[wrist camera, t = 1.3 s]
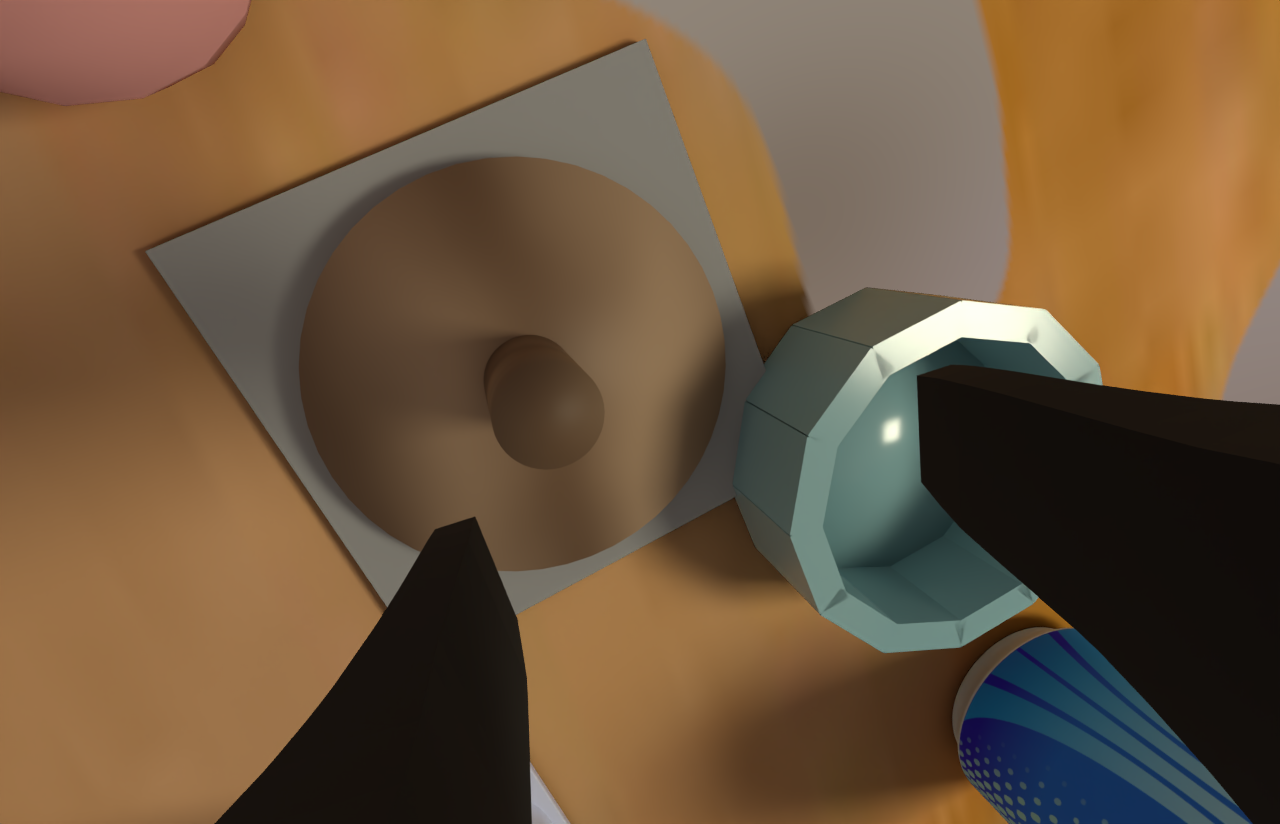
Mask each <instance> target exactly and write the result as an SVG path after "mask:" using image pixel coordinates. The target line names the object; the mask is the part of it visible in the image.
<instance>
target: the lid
mask: <svg viewBox="0 0 1280 824" xmlns="http://www.w3.org/2000/svg"><path fill="white" fill-rule="evenodd" d="M725 369H726V360H725V340H724V334H723V328H722V322H721V317H720V313H719V310H718V306H717V303H716V300H715V297H714V293H713V290H712V288H711V286H710V284H709V282H708V279H707V277H706V275H705V273H704V271H703V268H702V266H701V265H700V263H699V262H698V260H697V258H696V257H695V255H694V254H693V252H692V250H691V249H690V247H689V245H688V244H687V243H686V242H685V240H684V239H683V238H682V237H681V235H680V234H679V233H678V232H677V231H676V229H675V228H674V227H673V226H672V225H671V223H670V222H669V221H667V220H666V219H665V218H664V217H663V216H662V215H661V214H660V213H659V212H658V211H657V210H656V209H655V208H654V207H652V206H651V205H650V204H649V203H647V202H646V201H645V200H643V199H642V198H640V197H639V196H638V195H636V194H635V193H633V192H632V191H631V190H629V189H628V188H626V187H624V186H622V185H620V184H618V183H616V182H615V181H613V180H611V179H609V178H607V177H605V176H603V175H601V174H598V173H595V172H593V171H590V170H587V169H584V168H582V167H579V166H576V165H572V164H568V163H563V162H559V161H554V160H549V159H543V158H530V157H517V156H515V157H498V158H484V159H479V160H474V161H469V162H465V163H460V164H455V165H452V166H449V167H447V168H444V169H441V170H438V171H435V172H432V173H429V174H427V175H425V176H423V177H421V178H419V179H417V180H415V181H413V182H411V183H409V184H407V185H406V186H404V187H402V188H400V189H398V190H397V191H395V192H394V193H393V194H391V195H390V196H388V197H387V198H386V199H384V200H383V201H381V202H380V203H379V204H377V205H376V206H375V207H373V208H372V209H371V210H370V211H369V212H368V213H367V214H366V215H365V216H364V217H363V218H362V219H361V220H360V221H359V222H358V223H357V224H356V225H355V226H354V227H353V228H352V229H351V230H350V231H349V232H348V234H347V235H346V236H345V238H344V239H343V240H342V242H341V243H340V244H339V245H338V247H337V248H336V249H335V251H334V252H333V253H332V255H331V257H330V259H329V260H328V262H327V264H326V266H325V268H324V269H323V271H322V273H321V275H320V277H319V278H318V280H317V283H316V285H315V288H314V291H313V293H312V296H311V299H310V301H309V304H308V307H307V310H306V315H305V319H304V324H303V329H302V333H301V338H300V353H299V379H300V391H301V399H302V403H303V408H304V412H305V416H306V421H307V425H308V428H309V430H310V433H311V435H312V438H313V441H314V443H315V446H316V448H317V451H318V453H319V455H320V457H321V458H322V460H323V462H324V464H325V465H326V467H327V469H328V471H329V473H330V474H331V476H332V478H333V479H334V480H335V482H336V483H337V484H338V486H339V487H340V488H341V489H342V491H343V492H344V493H345V495H346V496H347V497H348V499H349V500H350V501H351V502H352V503H353V504H354V505H355V506H356V507H357V508H358V509H359V510H360V511H361V512H362V513H363V514H364V515H365V516H366V517H367V518H368V519H369V520H371V521H372V522H373V523H375V524H376V525H377V526H379V527H380V528H381V529H383V530H384V531H385V532H386V533H388V534H389V535H390V536H392V537H394V538H396V539H397V540H399V541H401V542H402V543H404V544H406V545H408V546H409V547H411V548H413V549H415V550H417V551H420V552H421V551H422V549H423V547H424V546H425V544H426V542H427V541H428V539H429V537H430V536H431V534H432V533H433V531H434V530H435V529H437V528H440V527H443V526H446V525H450V524H453V523H456V522H459V521H462V520H465V519H468V518H472V517H476V520H477V522H478V524H479V527H480V529H481V532H482V534H483V537H484V539H485V541H486V544H487V546H488V549H489V551H490V554H491V556H492V558H493V561H494V563H495V566H496V568H497V571H528V570H539V569H546V568H551V567H556V566H560V565H565V564H569V563H572V562H575V561H578V560H581V559H584V558H587V557H590V556H593V555H595V554H597V553H599V552H601V551H603V550H606V549H608V548H610V547H612V546H614V545H616V544H617V543H619V542H621V541H622V540H624V539H626V538H627V537H629V536H631V535H632V534H634V533H635V532H637V531H638V530H639V529H641V528H642V527H643V526H644V525H646V524H647V523H648V522H649V521H651V520H652V519H653V518H655V517H656V516H657V515H658V514H659V513H660V512H661V511H662V510H663V509H664V508H665V507H666V506H667V505H668V504H669V503H670V502H671V501H672V500H673V499H674V497H675V496H676V495H677V494H678V492H679V491H680V490H681V489H682V487H683V486H684V485H685V484H686V482H687V481H688V480H689V478H690V476H691V475H692V473H693V472H694V470H695V468H696V467H697V465H698V464H699V462H700V460H701V458H702V456H703V454H704V452H705V450H706V448H707V446H708V444H709V441H710V439H711V437H712V434H713V431H714V428H715V425H716V422H717V419H718V416H719V412H720V407H721V402H722V397H723V392H724V382H725Z"/></svg>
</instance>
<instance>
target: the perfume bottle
mask: <svg viewBox="0 0 1280 824" xmlns="http://www.w3.org/2000/svg"><path fill="white" fill-rule="evenodd" d="M250 3H251V0H0V92H4V93H8V94H13V95H18V96H22V97H27V98H31V99H36V100H40V101H45V102H50V103H54V104H59V105H63V106H69V105H79V104H89V103H99V102H109V101H119V100H130V99H140V98H144V97H146V96H149V95H151V94H153V93H156V92H158V91H160V90H163V89H165V88H168V87H170V86H172V85H174V84H175V83H177V82H179V81H181V80H183V79H185V78H187V77H189V76H191V75H193V74H195V73H197V72H199V71H201V70H203V69H205V68H207V67H209V66H210V65H212V64H214V63H215V62H216V61H217V59H218V58H219V57H220V55H221V54H222V53H223V52H224V50H225V49H226V48H227V47H228V45H229V44H230V43H231V42H232V40H233V39H234V38H235V37H236V35H237V34H238V33H239V32H240V30H241V29H242V28H243V27H244V25H245V22H246V19H247V15H248V11H249V7H250Z"/></svg>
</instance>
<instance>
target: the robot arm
mask: <svg viewBox="0 0 1280 824" xmlns="http://www.w3.org/2000/svg"><path fill="white" fill-rule="evenodd" d="M917 397H918V422H919V447H920V471H921V483H922V484H923V485H924V486H925V488H926V489H927V490H928V491H929V492H930V494H931V495H932V496H933V497H934V499H935V500H936V501H937V502H938V503H939V505H940V506H941V507H942V508H943V509H944V510H945V512H946V513H947V514H948V515H949V516H950V517H951V518H952V519H953V520H954V522H955V523H956V524H957V525H958V526H959V527H960V528H961V529H962V530H963V531H964V532H965V533H966V534H967V535H968V536H970V537H971V538H972V539H973V540H974V541H975V542H976V543H977V544H978V545H980V546H981V547H982V548H983V549H984V550H985V551H986V552H987V553H989V554H990V555H991V556H992V557H993V558H994V559H995V560H996V561H998V562H999V563H1000V564H1001V565H1002V566H1003V567H1004V568H1006V569H1007V570H1008V571H1009V572H1010V573H1011V574H1013V575H1014V576H1015V577H1016V578H1017V579H1018V580H1019V581H1021V582H1022V583H1023V584H1024V585H1025V586H1026V587H1027V588H1029V589H1030V590H1031V591H1032V592H1033V593H1034V594H1036V595H1037V596H1038V597H1039V598H1040V599H1041V600H1042V601H1044V602H1045V603H1046V604H1047V605H1048V606H1049V607H1050V608H1052V609H1053V610H1054V611H1055V612H1056V613H1057V614H1059V615H1060V616H1061V617H1062V618H1063V619H1064V620H1065V621H1067V622H1068V623H1069V624H1070V625H1071V626H1072V627H1073V628H1074V629H1076V630H1077V631H1078V632H1079V633H1080V634H1081V635H1082V636H1083V637H1084V638H1085V639H1086V640H1087V641H1088V642H1089V643H1090V644H1091V645H1093V646H1094V647H1095V648H1096V649H1097V650H1098V651H1099V652H1100V653H1101V654H1102V655H1103V656H1104V657H1105V658H1106V659H1107V661H1108V662H1109V663H1110V664H1111V665H1112V666H1113V667H1114V668H1115V669H1116V670H1117V671H1118V672H1119V673H1120V674H1121V675H1122V676H1123V677H1124V678H1125V680H1126V681H1127V682H1128V683H1129V684H1130V685H1131V686H1132V687H1133V688H1134V689H1135V690H1136V691H1137V692H1138V693H1139V694H1140V695H1141V696H1142V698H1143V699H1144V700H1145V701H1146V702H1147V703H1148V704H1149V705H1150V706H1151V707H1152V708H1153V709H1154V710H1155V711H1156V713H1157V714H1158V715H1159V716H1160V717H1161V718H1162V719H1163V720H1164V722H1165V723H1166V724H1167V725H1168V726H1169V727H1170V728H1171V729H1172V731H1173V732H1174V733H1175V734H1176V735H1177V736H1178V737H1179V738H1180V740H1181V741H1182V742H1183V743H1184V744H1185V745H1186V746H1187V747H1188V748H1189V750H1190V751H1191V752H1192V753H1193V754H1194V755H1195V756H1196V757H1197V759H1198V760H1199V761H1200V762H1201V763H1202V764H1203V765H1204V766H1205V768H1206V769H1207V770H1208V771H1209V772H1210V773H1211V774H1212V776H1213V777H1214V778H1215V779H1216V780H1217V782H1218V783H1219V784H1220V785H1221V786H1222V788H1223V789H1224V790H1225V791H1226V792H1227V794H1228V795H1229V796H1230V797H1231V798H1232V800H1233V801H1234V802H1235V803H1236V804H1237V806H1238V807H1239V808H1240V809H1241V810H1242V811H1243V813H1244V814H1245V815H1246V816H1247V817H1248V819H1249V820H1250V821H1251V822H1252V823H1253V824H1280V405H1276V404H1262V403H1247V402H1233V401H1223V400H1213V399H1203V398H1194V397H1186V396H1177V395H1169V394H1161V393H1153V392H1145V391H1138V390H1131V389H1124V388H1117V387H1110V386H1103V385H1097V384H1090V383H1084V382H1078V381H1072V380H1065V379H1059V378H1053V377H1047V376H1041V375H1034V374H1028V373H1022V372H1016V371H1009V370H1002V369H995V368H988V367H979V366H969V365H948V366H945V367H942V368H939V369H936V370H933V371H930V372H926V373H923V374H920V375H917ZM215 824H570V822H569V821H568V819H567V818H566V816H565V815H564V813H563V811H562V810H561V808H560V807H559V805H558V804H557V802H556V801H555V799H554V798H553V796H552V795H551V793H550V791H549V790H548V788H547V787H546V785H545V784H544V782H543V781H542V779H541V778H540V776H539V775H538V773H537V772H536V770H535V768H534V767H533V765H532V764H531V762H530V747H529V718H528V692H527V676H526V670H525V663H524V657H523V650H522V644H521V638H520V632H519V626H518V620H517V617H516V614H515V612H514V610H513V607H512V605H511V602H510V600H509V597H508V595H507V593H506V590H505V588H504V585H503V583H502V580H501V578H500V576H499V573H498V571H497V568H496V566H495V563H494V561H493V558H492V556H491V554H490V551H489V549H488V546H487V544H486V541H485V539H484V537H483V534H482V532H481V529H480V527H479V524H478V522H477V520H476V517H472V518H468V519H465V520H462V521H459V522H456V523H453V524H450V525H446V526H443V527H440V528H437V529H435V530H434V531H433V533H432V534H431V536H430V537H429V539H428V541H427V542H426V544H425V546H424V547H423V549H422V551H421V552H420V554H419V556H418V558H417V559H416V561H415V563H414V564H413V566H412V568H411V569H410V571H409V573H408V574H407V576H406V578H405V579H404V581H403V583H402V584H401V586H400V588H399V589H398V591H397V592H396V594H395V596H394V597H393V599H392V600H391V602H390V604H389V605H388V607H387V609H386V610H385V612H384V613H383V615H382V617H381V618H380V620H379V621H378V623H377V624H376V626H375V627H374V629H373V630H372V632H371V633H370V635H369V636H368V637H367V639H366V640H365V642H364V643H363V645H362V646H361V647H360V649H359V650H358V652H357V653H356V655H355V656H354V658H353V659H352V660H351V662H350V663H349V665H348V666H347V668H346V669H345V670H344V672H343V673H342V675H341V676H340V678H339V679H338V681H337V682H336V683H335V685H334V686H333V687H332V689H331V690H330V691H329V693H328V694H327V695H326V697H325V698H324V699H323V701H322V702H321V703H320V704H319V706H318V707H317V708H316V710H315V711H314V712H313V713H312V715H311V716H310V717H309V718H308V720H307V721H306V722H305V723H304V725H303V726H302V727H301V728H300V729H299V731H298V732H297V733H296V734H295V735H294V736H293V738H292V739H291V740H290V741H289V742H288V744H287V745H286V746H285V747H284V748H283V750H282V751H281V752H280V753H279V754H278V756H277V757H276V758H275V759H274V760H273V761H272V763H271V764H270V765H269V766H268V767H267V768H266V769H265V771H264V772H263V773H262V774H261V775H260V776H259V777H258V778H257V779H256V780H255V781H254V782H253V784H252V785H251V786H250V787H249V788H248V789H247V790H246V791H245V792H244V793H243V794H242V795H241V796H240V797H239V798H238V799H237V801H236V802H235V803H234V804H233V805H232V806H231V807H230V808H229V809H228V810H227V811H226V812H225V813H224V814H223V815H222V816H221V818H220V819H219V820H218V821H217V822H216V823H215Z"/></svg>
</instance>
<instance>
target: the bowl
mask: <svg viewBox="0 0 1280 824" xmlns="http://www.w3.org/2000/svg"><path fill="white" fill-rule="evenodd" d="M948 365H969V366H979V367H988V368H995V369H1002V370H1009V371H1016V372H1022V373H1028V374H1034V375H1041V376H1047V377H1053V378H1059V379H1065V380H1072V381H1078V382H1084V383H1090V384H1097V385H1102V379H1101V372H1100V366H1098V365H1099V364H1098V363H1097V362H1096V361H1095V360H1094V359H1093V358H1092V357H1091V356H1090V355H1089V354H1088V353H1087V352H1086V351H1085V350H1084V349H1083V348H1082V347H1081V346H1080V345H1079V343H1078V342H1077V341H1076V340H1075V339H1074V338H1073V337H1072V336H1071V335H1070V334H1069V333H1068V332H1067V331H1066V330H1065V329H1064V328H1063V327H1062V326H1061V325H1060V324H1059V323H1058V322H1057V321H1056V320H1055V319H1054V318H1053V317H1052V315H1051V314H1050V313H1049V312H1048V311H1047V310H1045V309H1039V308H1032V307H1024V306H1016V305H1009V304H1001V303H994V302H986V301H978V300H971V299H963V298H956V297H948V296H941V295H932V294H923V293H914V292H905V291H895V290H886V289H877V288H864V289H862V290H860V291H858V292H856V293H854V294H852V295H850V296H848V297H846V298H845V299H842V300H840V301H838V302H836V303H834V304H833V305H831V306H828V307H826V308H825V309H822V310H821V311H818V312H816V313H814V314H813V315H811V316H809V317H807V318H805V319H803V320H801V321H799V322H797V323H795V324H793V326H791V327H790V328H789V330H788V331H787V332H786V334H785V335H784V337H783V338H782V339H781V341H780V342H779V344H778V345H777V346H776V348H775V349H774V351H773V352H772V353H771V355H770V356H769V358H768V359H767V361H766V362H765V363H764V366H765V369H766V372H765V373H764V375H763V376H762V377H761V379H760V380H759V382H758V383H757V384H756V386H755V387H754V389H753V390H752V391H751V393H750V394H749V396H748V397H747V398H746V401H745V404H744V411H743V417H742V424H741V431H740V437H739V444H738V451H737V457H736V464H735V470H734V477H733V487H734V490H735V492H736V495H737V496H736V497H735V499H736V502H737V504H738V507H739V509H740V511H741V514H742V516H743V519H744V521H745V524H746V526H747V528H748V531H749V533H750V536H751V538H752V541H753V543H754V545H755V547H756V549H757V550H758V551H759V552H760V553H761V554H762V555H763V556H764V557H765V558H766V559H767V560H768V561H769V562H770V563H771V564H772V565H773V566H774V567H775V568H776V569H777V570H778V571H779V572H780V573H781V575H782V576H783V577H784V578H785V579H786V580H787V581H788V582H789V583H790V584H791V585H792V586H793V587H794V588H795V589H796V590H797V591H798V592H799V593H800V594H801V595H802V596H803V597H804V598H805V599H806V600H807V601H808V602H809V604H810V605H811V606H812V607H813V608H814V609H815V610H816V611H817V612H818V613H819V614H820V615H821V616H823V617H825V618H826V619H828V620H830V621H831V622H833V623H835V624H836V625H838V626H840V627H841V628H843V629H845V630H846V631H848V632H850V633H851V634H853V635H855V636H856V637H858V638H859V639H861V640H863V641H864V642H866V643H868V644H869V645H871V646H873V647H874V648H876V649H878V650H879V651H881V652H883V653H892V652H906V651H919V650H933V649H946V648H960V647H962V646H964V645H966V644H967V643H969V642H971V641H972V640H974V639H976V638H977V637H979V636H981V635H982V634H984V633H986V632H987V631H989V630H991V629H992V628H994V627H996V626H997V625H999V624H1001V623H1002V622H1004V621H1006V620H1007V619H1009V618H1011V617H1012V616H1014V615H1015V614H1017V613H1019V612H1020V611H1022V610H1024V609H1025V608H1027V607H1029V606H1030V605H1032V604H1033V602H1034V603H1035V601H1036V600H1037V599H1038V596H1037V595H1036V594H1034V593H1033V592H1032V591H1031V590H1030V589H1029V588H1027V587H1026V586H1025V585H1024V584H1023V583H1022V582H1021V581H1019V580H1018V579H1017V578H1016V577H1015V576H1014V575H1013V574H1011V573H1010V572H1009V571H1008V570H1007V569H1006V568H1004V567H1003V566H1002V565H1001V564H1000V563H999V562H998V561H996V560H995V559H994V558H993V557H992V556H991V555H990V554H989V553H987V552H986V551H985V550H984V549H983V548H982V547H981V546H980V545H978V544H977V543H976V542H975V541H974V540H973V539H972V538H971V537H970V536H968V535H967V534H966V533H965V532H964V531H963V530H962V529H961V528H960V527H959V526H958V525H957V524H956V523H955V522H954V520H953V519H952V518H951V517H950V516H949V515H948V514H947V513H946V512H945V510H944V509H943V508H942V507H941V506H940V505H939V503H938V502H937V501H936V500H935V499H934V497H933V496H932V495H931V494H930V492H929V491H928V490H927V489H926V488H925V486H924V485H923V484H922V483H921V471H920V447H919V422H918V397H917V375H920V374H923V373H926V372H930V371H933V370H936V369H939V368H942V367H945V366H948Z"/></svg>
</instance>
